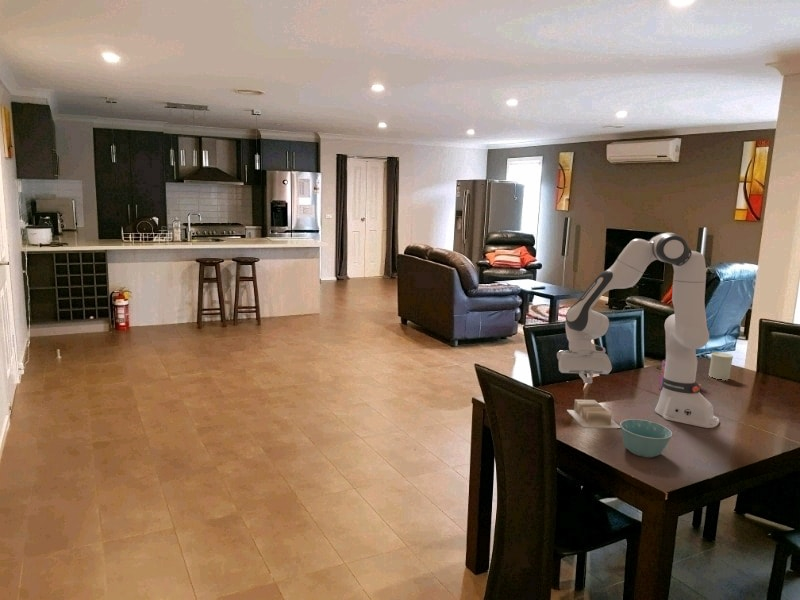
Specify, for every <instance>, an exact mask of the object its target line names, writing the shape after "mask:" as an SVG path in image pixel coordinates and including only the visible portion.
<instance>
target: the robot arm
mask: <svg viewBox="0 0 800 600" xmlns="http://www.w3.org/2000/svg"><path fill="white" fill-rule="evenodd" d="M655 261H660V262H662V263H667V264H670V265H672V268H673V279H672V293H671V294H672V296H671V302H672V304H673V312H674V313H673V314H671V315H669V316H668V317H667V318H666V319H665V322H664V331H665V359H666V363H665V371H664V376H663V378H662V382H661V390H660V394H659V398H658V401H657V404H656V407H655V409H654V412H655V413H656V414H658V415H659V416H661V417H662V418H663V419H665V420H668V421H672V422H677V423H682V424H685V425H686V424H687V425H691V426H695V427H701V428H704V429H705V428H706V429H709V428H710V429H711V428H716V427H717V426H718V425H719V423H720V419H719V417H717V416H715V415H714V406H713V404H712V403H711V402H710V401H709V400H708V399H707V398H706V397H704V395H702V393H701V392H700V391H701V385H702V384H701V383H698V382H697V381H696V378H697V377H696V375H697V370H698V358H697V351H696V350H698V349H699V350H700V349H702V348H703V347H705V346H706V345H707V344H708V342H709V341H710V331H709V328H708V325H707V314H706V307H705V306H706V305H705V295H706V282H707V281H706V280H707V267H706V266H707V265H706V258H705V256H704V254H702V253H701V252H698V251H695V250H691V249H690V246H689V244H688V242H687V241H686V239H685V238H684V237H682V235H679V234H677V233H674V232H661V233H658V234H655V235H654V236H653V237H651V238H649V239H647V240H646V239H643V238H634V239H632V240H630V241H629V243H627V245H626V246H625V247H624V248H623V249H622V251H621V252H620V253H619V255H618V256H617V258H616V259H615V261H614V263H613V264H612V265H610V267H609V268H608V269H606V270H604V271H602V272H601V273H599V274H598V275H597V276H596V278H595V279H594V280H593V281H592V282H591V284H590V285H589V286H588V287H587V289H586V290H585V291H584V292H583V294H582V295H581V296H580V298H578V299H577V301H576V302H575V303H574V304H573V305H572V306H571V307H570V308H568V310H567V312H566V315H565V324H564V327H565V333H566V338H567V341H568V350H561V349H560V350H559V351H558V352H556V358H557V360H558V371H559V372H560V373H561V374H578V375H579V377H580V378H581V379H582V380H583V384H592V383H593V376H594V375H597V374H598V375H609V374H610V372H611V371H612V369H613V366H612V363H611V360H610V358H609V355H608V354H607V353H606V351H607V350H606V348H605V347H603V346H600V345H598V344H595V343H593V342H592V341H593V340H597V339H600V338H601V337H603V336H605V335H606V334H607V333H608V331H609V330H610V325H611V323H610V319H609V318H608V316H607V315H605V314H603V313H601V312H599V311H596V310H593V309H592V308H593V307H594V306H595V305H596V304H597V302H598V301H599V300H600V299H601V297H602V295H604V294H605V293H606V292H608V291H611V290H614V289H615V290H616V289H617V290H618V289H619V290H620V289H629V288H631V287H633V286H635V285H636V284H637V283H638V282H639V280H640V279H642V277H643V275H644V274H645V273H644V272H645V271H646V270H647V267H648V266H649V265H650V264H651V263H652V262H655ZM586 375H588V376H589V377H588V376H586Z"/></svg>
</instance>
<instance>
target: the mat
mask: <svg viewBox="0 0 800 600" xmlns="http://www.w3.org/2000/svg"><path fill="white" fill-rule="evenodd" d="M566 412H567V413H568V414H569V415H570V416H571V417H572V418H573V419H574V420H575V421H576V423H578V425H580V426H581V427H582V428H583V429H617V428H621V427H620V424H617V423H616V422H615V421H614V420H613V419H612V418H611V425H589V424H588V423H587V422H586V421H585V420H584V419H583V418H582V417H581V416H580V415H579V414H578V413H577V412H576V411H575V410H574V409H566Z"/></svg>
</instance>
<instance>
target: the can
mask: <svg viewBox="0 0 800 600" xmlns="http://www.w3.org/2000/svg"><path fill="white" fill-rule="evenodd" d="M733 358H734V356H733V355H732V354H729V353H725V352H713V351H712V352H711V357H710V362H709V363H710V364H709V370H708V375H709V376H710V377H713V378H716V379H715V380H717V379H722V380H721V381H725V380H726V381H728V380H727V379H731V378H730V377H731V370H732V363H733ZM709 376H708V377H709ZM710 377H709V378H710ZM713 378H712V379H713Z"/></svg>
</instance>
